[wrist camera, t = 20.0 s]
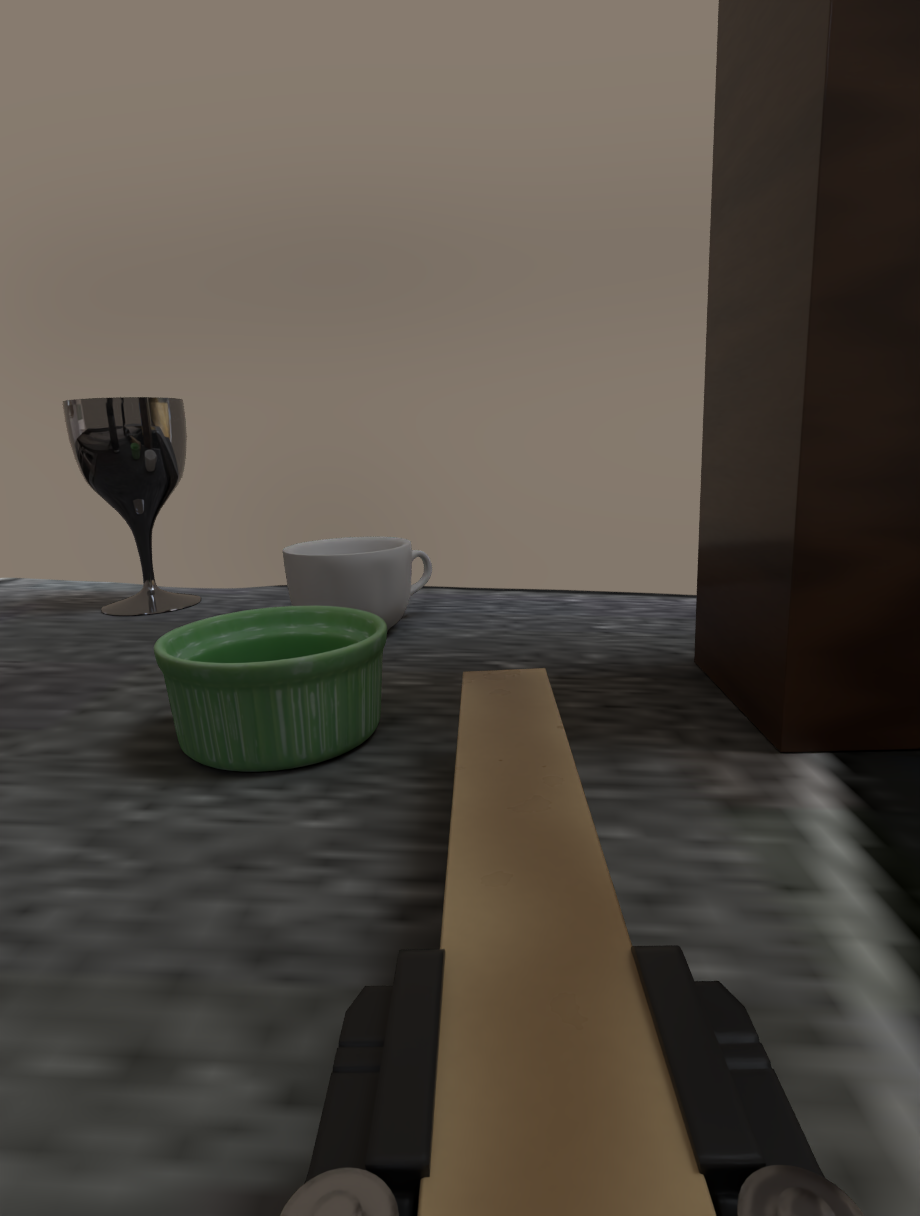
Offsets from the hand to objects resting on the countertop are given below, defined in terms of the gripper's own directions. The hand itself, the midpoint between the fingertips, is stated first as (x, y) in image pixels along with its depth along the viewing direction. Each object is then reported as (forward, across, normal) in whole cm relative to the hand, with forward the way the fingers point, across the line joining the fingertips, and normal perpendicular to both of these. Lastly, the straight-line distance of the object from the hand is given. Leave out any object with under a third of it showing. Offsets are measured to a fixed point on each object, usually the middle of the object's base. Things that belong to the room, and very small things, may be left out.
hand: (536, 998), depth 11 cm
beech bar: (+5, 0, +2) cm, 6 cm away
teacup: (+35, +8, +3) cm, 36 cm away
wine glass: (+44, +26, +3) cm, 51 cm away
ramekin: (+18, +9, +3) cm, 21 cm away
